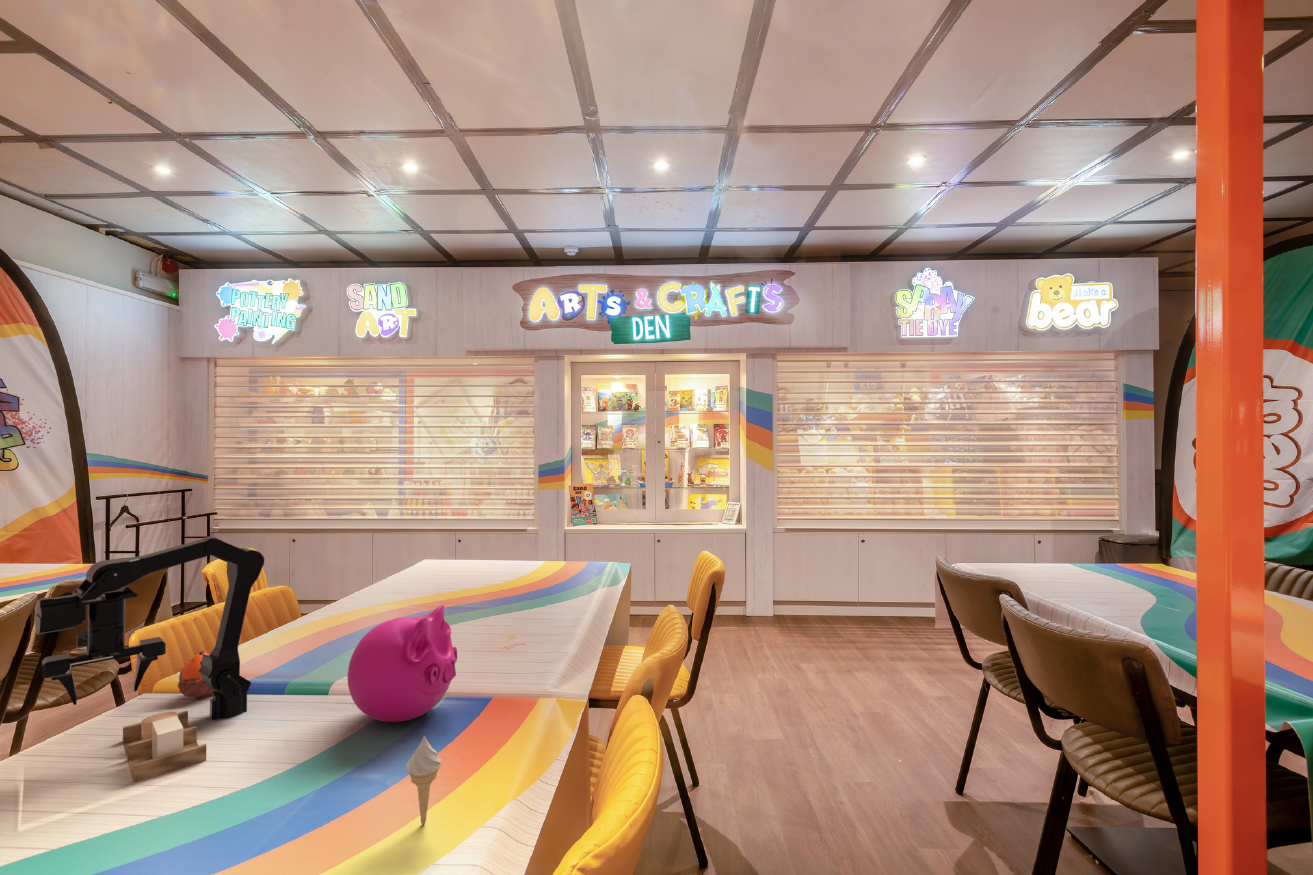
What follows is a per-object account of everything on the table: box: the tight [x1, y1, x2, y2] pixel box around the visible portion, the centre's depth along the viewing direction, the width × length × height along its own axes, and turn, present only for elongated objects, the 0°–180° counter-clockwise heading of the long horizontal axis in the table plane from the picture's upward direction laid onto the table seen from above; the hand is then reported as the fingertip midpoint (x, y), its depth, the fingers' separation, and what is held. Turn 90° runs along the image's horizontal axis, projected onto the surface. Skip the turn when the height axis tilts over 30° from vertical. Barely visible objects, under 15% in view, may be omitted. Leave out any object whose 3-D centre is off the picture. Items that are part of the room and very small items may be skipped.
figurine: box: [347, 604, 458, 723], centre depth 142 cm, size 23×24×25 cm
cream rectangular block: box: [152, 716, 183, 759], centre depth 121 cm, size 4×8×7 cm, turn 46°
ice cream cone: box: [405, 735, 443, 826], centre depth 101 cm, size 6×6×15 cm
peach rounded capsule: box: [140, 711, 179, 741], centre depth 128 cm, size 6×6×5 cm
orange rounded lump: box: [177, 650, 216, 700], centre depth 154 cm, size 12×10×11 cm
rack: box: [122, 710, 207, 784], centre depth 124 cm, size 11×23×4 cm, turn 46°
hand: (105, 697), depth 124 cm, fingers open, 9 cm apart
